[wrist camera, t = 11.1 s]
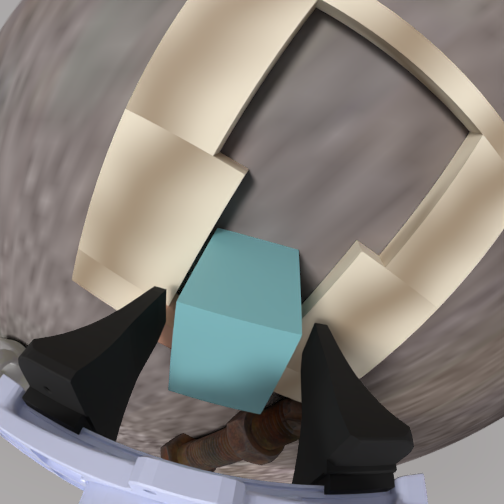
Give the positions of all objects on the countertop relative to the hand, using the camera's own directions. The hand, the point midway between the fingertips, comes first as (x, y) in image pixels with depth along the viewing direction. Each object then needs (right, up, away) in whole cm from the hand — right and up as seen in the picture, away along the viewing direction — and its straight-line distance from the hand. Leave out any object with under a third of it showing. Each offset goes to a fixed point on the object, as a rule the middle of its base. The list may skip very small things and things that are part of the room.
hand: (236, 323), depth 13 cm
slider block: (0, +2, +2) cm, 3 cm away
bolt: (-1, -11, +9) cm, 15 cm away
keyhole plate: (+3, +5, 0) cm, 6 cm away
